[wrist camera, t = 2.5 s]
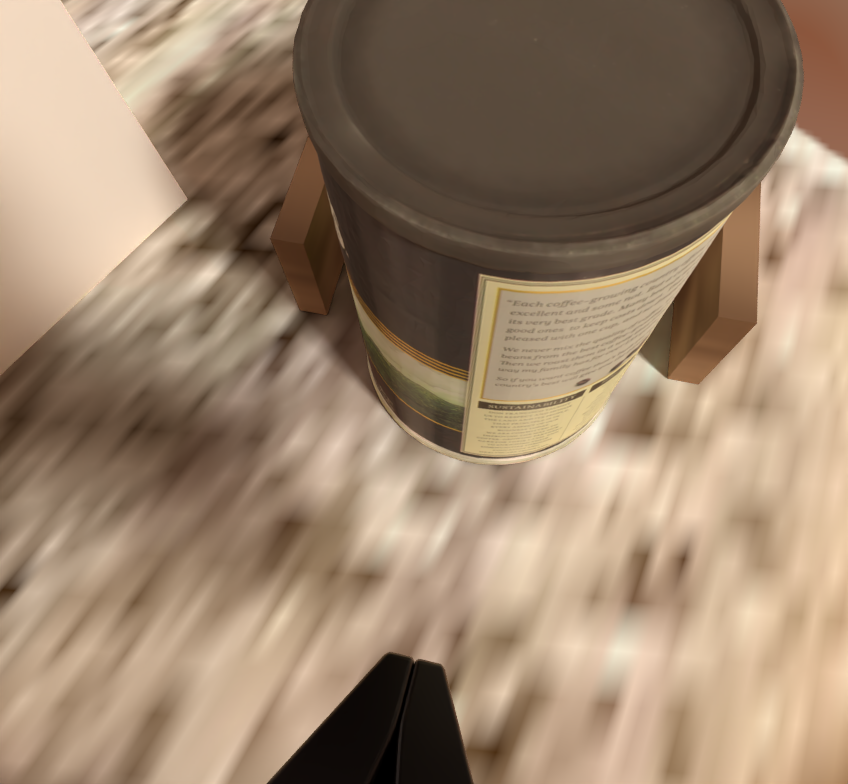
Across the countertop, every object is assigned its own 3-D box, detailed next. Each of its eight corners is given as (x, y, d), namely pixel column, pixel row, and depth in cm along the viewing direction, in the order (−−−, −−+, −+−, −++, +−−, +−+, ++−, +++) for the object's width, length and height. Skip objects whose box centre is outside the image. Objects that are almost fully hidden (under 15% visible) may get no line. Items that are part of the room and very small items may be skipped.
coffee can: (331, 429, 25) (209, 181, 12) (407, 218, 28) (379, -149, 15) (595, 501, 23) (787, 310, 10) (639, 270, 27) (822, -84, 14)
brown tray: (698, 384, 25) (756, 323, 20) (299, 310, 27) (270, 238, 22) (716, 109, 30) (765, 12, 26) (382, 62, 32) (372, -38, 27)
